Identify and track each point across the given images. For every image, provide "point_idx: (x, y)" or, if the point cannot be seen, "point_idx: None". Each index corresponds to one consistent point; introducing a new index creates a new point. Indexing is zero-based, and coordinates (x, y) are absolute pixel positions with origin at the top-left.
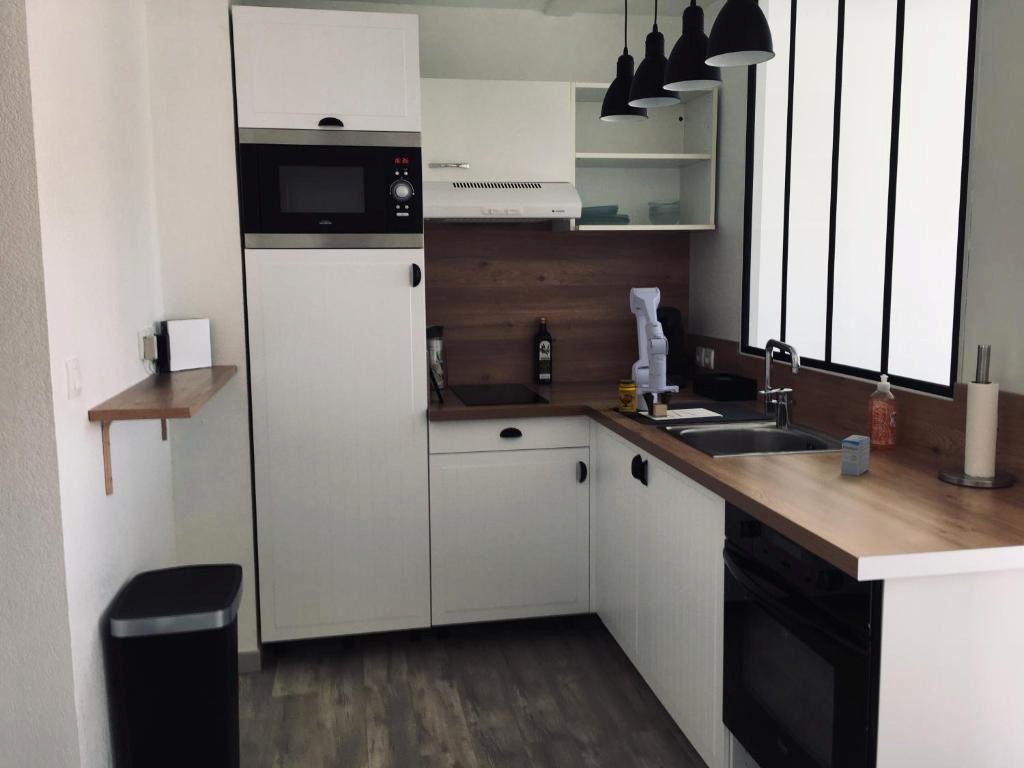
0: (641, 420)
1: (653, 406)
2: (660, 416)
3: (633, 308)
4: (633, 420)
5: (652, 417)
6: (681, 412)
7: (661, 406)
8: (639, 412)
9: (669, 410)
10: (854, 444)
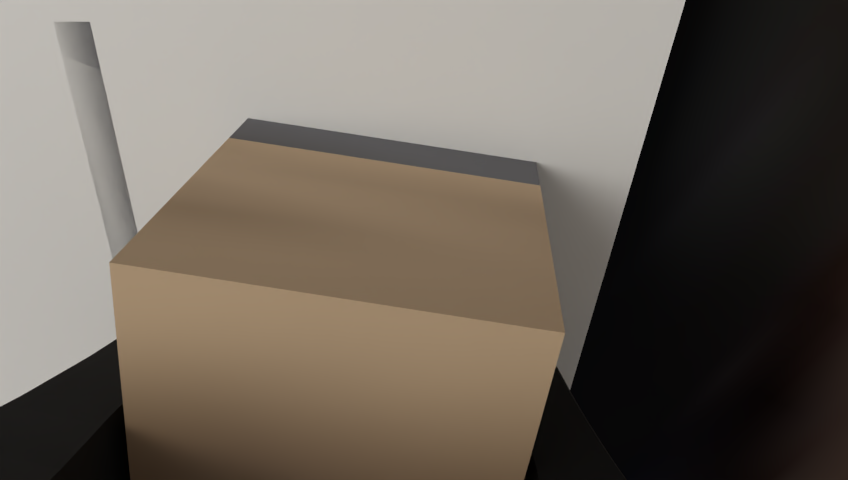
0: (697, 354)
1: (519, 460)
2: (412, 153)
3: None
4: (816, 416)
5: (569, 242)
6: None
7: (339, 279)
8: None
9: None
10: None
